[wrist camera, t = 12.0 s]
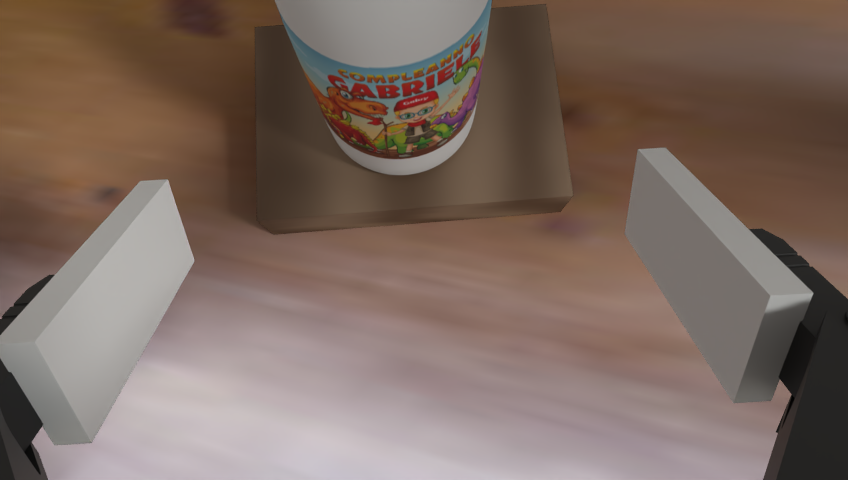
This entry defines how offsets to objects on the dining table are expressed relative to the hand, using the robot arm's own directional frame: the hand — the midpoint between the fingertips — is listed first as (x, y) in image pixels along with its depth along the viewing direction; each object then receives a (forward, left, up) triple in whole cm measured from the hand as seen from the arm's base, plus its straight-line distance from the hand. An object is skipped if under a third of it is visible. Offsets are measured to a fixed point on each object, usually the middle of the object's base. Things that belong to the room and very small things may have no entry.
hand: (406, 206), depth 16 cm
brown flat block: (0, -9, -15) cm, 17 cm away
